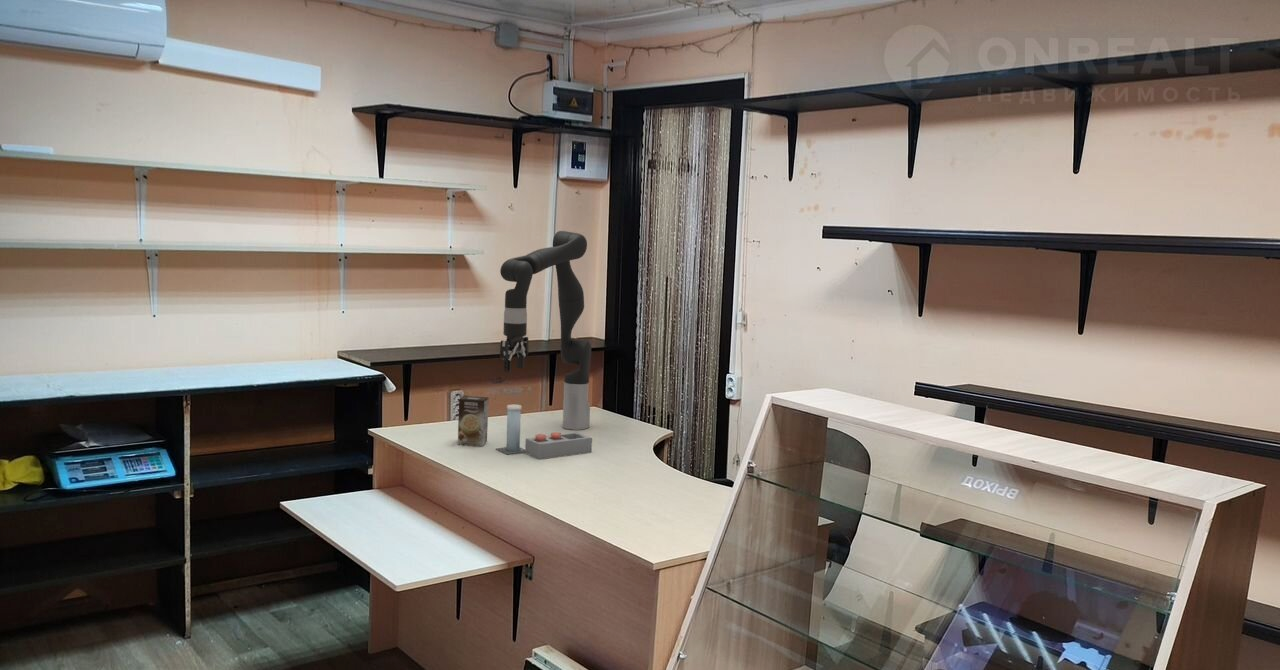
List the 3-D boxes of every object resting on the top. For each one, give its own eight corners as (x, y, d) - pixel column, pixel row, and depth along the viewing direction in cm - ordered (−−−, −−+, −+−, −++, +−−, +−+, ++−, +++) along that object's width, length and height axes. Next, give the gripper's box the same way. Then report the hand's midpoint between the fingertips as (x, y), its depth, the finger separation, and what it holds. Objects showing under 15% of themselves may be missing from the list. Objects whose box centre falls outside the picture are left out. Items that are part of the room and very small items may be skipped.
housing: (576, 446, 320) (577, 432, 319) (591, 452, 313) (592, 437, 312) (525, 453, 308) (525, 438, 307) (539, 459, 301) (539, 444, 300)
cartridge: (522, 449, 311) (524, 405, 309) (515, 452, 307) (516, 407, 305) (510, 447, 313) (511, 403, 311) (503, 450, 308) (504, 406, 306)
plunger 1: (541, 449, 308) (542, 433, 308) (547, 452, 306) (547, 435, 305) (533, 451, 306) (533, 434, 305) (538, 453, 303) (538, 437, 303)
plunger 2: (557, 447, 312) (557, 432, 311) (562, 450, 309) (563, 434, 308) (548, 449, 310) (549, 433, 309) (553, 451, 307) (554, 435, 306)
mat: (516, 446, 315) (516, 445, 315) (528, 452, 309) (528, 451, 309) (495, 449, 311) (495, 448, 310) (507, 455, 304) (507, 453, 304)
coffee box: (456, 444, 315) (457, 398, 313) (462, 440, 321) (463, 395, 319) (483, 446, 314) (484, 400, 312) (488, 442, 320) (489, 396, 318)
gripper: (513, 324, 296) (512, 374, 298) (535, 320, 309) (534, 368, 311) (493, 322, 299) (492, 371, 301) (516, 318, 312) (515, 365, 314)
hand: (513, 369), depth 306 cm, fingers open, 8 cm apart
